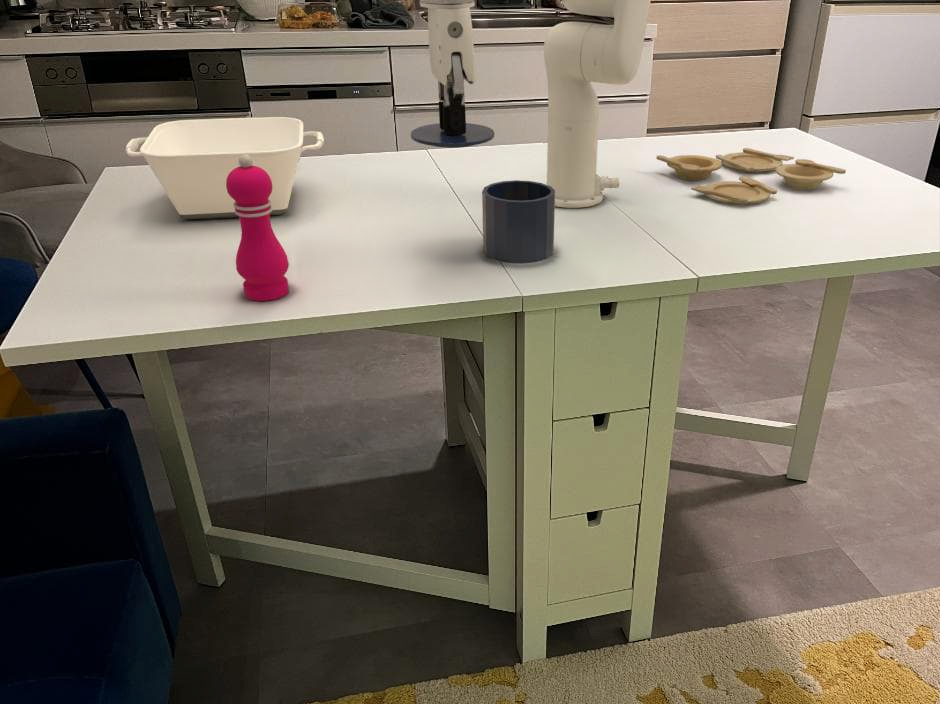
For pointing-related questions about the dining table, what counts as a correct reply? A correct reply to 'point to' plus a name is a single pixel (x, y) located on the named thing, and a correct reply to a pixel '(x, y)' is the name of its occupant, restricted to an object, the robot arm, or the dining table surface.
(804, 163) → the tableware set
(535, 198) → the tin
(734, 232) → the dining table surface
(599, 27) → the robot arm
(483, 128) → the tin lid
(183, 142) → the tub
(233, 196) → the pepper mill
